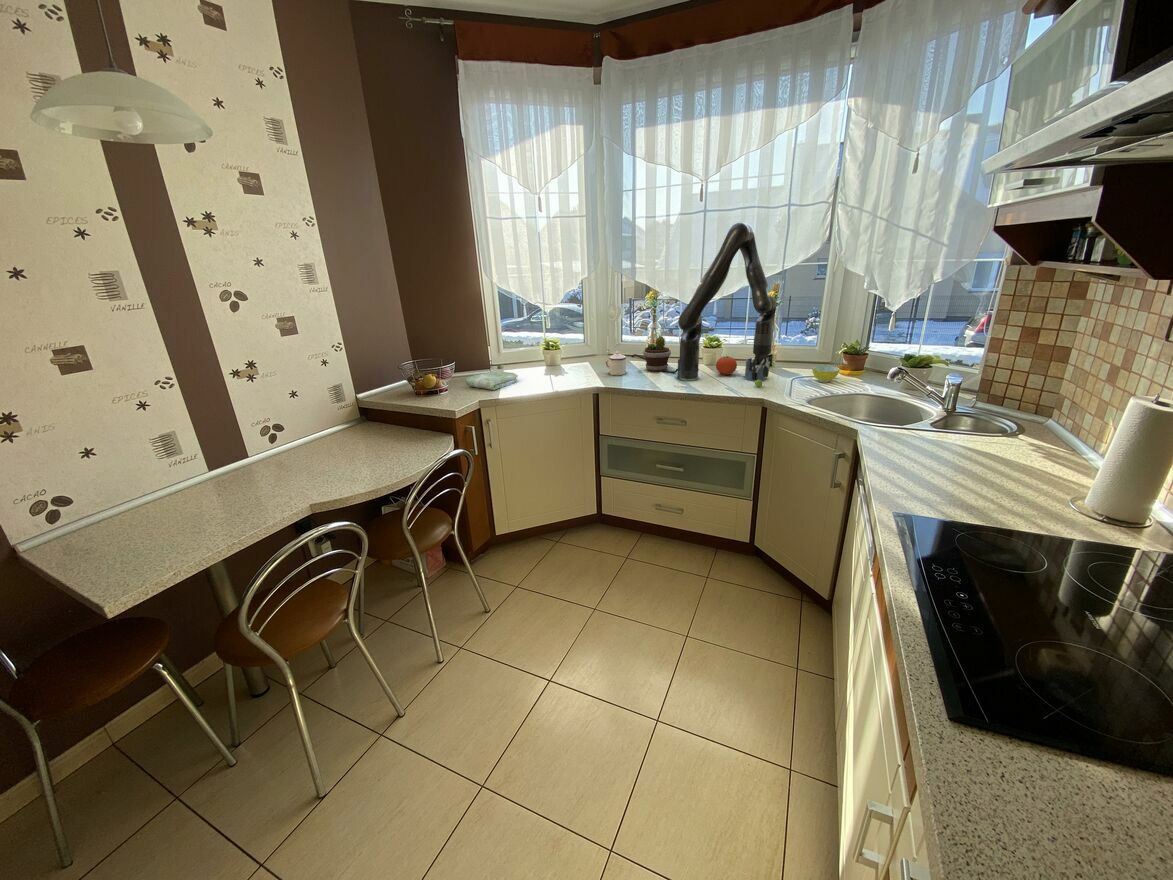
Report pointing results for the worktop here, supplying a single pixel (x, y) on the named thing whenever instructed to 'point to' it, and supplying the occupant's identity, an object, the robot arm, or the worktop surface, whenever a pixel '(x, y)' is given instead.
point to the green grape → (758, 383)
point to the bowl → (825, 372)
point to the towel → (492, 380)
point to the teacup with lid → (617, 364)
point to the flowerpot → (657, 355)
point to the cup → (749, 374)
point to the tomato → (726, 365)
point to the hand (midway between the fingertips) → (759, 378)
